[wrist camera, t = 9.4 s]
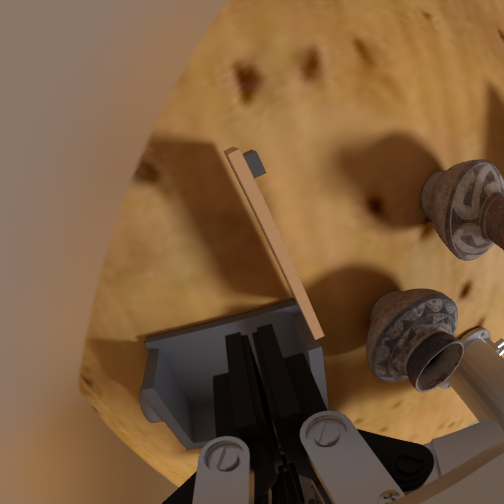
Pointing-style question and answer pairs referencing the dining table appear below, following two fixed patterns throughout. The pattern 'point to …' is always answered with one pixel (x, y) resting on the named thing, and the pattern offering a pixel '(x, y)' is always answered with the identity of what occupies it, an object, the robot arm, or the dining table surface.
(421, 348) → the pottery
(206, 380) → the grey open drawer box
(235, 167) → the door
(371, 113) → the dining table surface
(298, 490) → the vintage camera
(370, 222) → the dining table surface
